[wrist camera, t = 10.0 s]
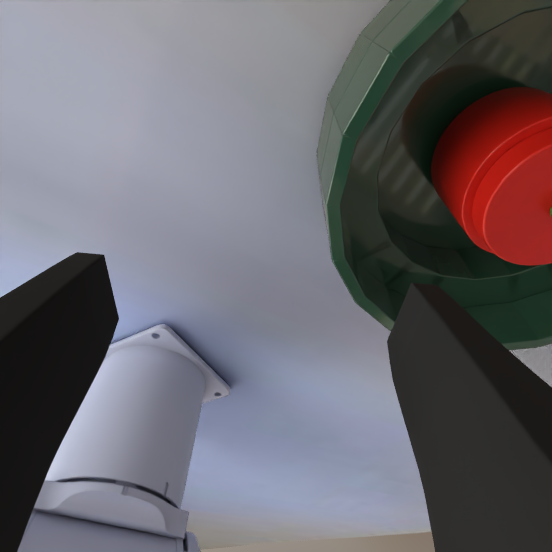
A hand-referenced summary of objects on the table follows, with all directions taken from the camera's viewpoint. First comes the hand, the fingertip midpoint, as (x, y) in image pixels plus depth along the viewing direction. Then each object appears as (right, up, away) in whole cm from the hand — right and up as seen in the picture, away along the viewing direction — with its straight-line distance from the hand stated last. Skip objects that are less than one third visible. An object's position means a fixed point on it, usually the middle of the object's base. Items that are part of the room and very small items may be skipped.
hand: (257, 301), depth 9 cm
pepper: (+10, +6, +7) cm, 13 cm away
